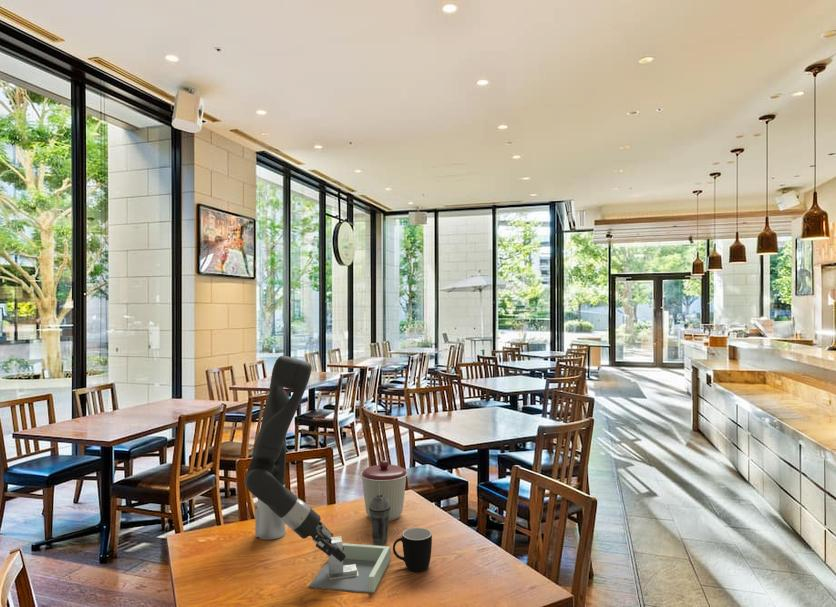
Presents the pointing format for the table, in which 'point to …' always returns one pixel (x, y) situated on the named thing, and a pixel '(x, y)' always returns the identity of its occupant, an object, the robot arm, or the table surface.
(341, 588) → the mat
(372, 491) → the canister
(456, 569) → the table surface
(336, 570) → the bracket
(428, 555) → the mug
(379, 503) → the beverage cup
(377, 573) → the corner walls
